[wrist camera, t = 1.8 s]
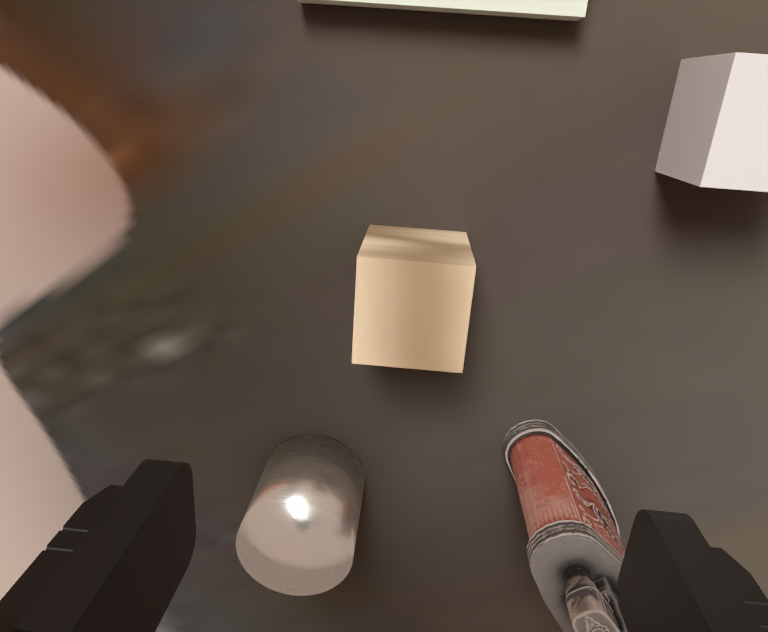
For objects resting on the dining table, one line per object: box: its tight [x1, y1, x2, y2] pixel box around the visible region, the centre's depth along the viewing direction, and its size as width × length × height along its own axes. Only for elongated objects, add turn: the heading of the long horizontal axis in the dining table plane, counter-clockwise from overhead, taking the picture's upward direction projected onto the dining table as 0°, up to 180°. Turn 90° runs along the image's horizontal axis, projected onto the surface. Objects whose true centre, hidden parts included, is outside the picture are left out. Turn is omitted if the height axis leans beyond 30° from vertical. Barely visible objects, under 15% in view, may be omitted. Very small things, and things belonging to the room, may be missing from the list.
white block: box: [655, 52, 768, 192], centre depth 20 cm, size 4×4×4 cm
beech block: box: [352, 225, 476, 373], centre depth 22 cm, size 4×4×5 cm
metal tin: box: [236, 434, 365, 596], centre depth 26 cm, size 5×5×5 cm
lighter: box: [503, 420, 628, 632], centre depth 23 cm, size 8×3×10 cm, turn 35°
